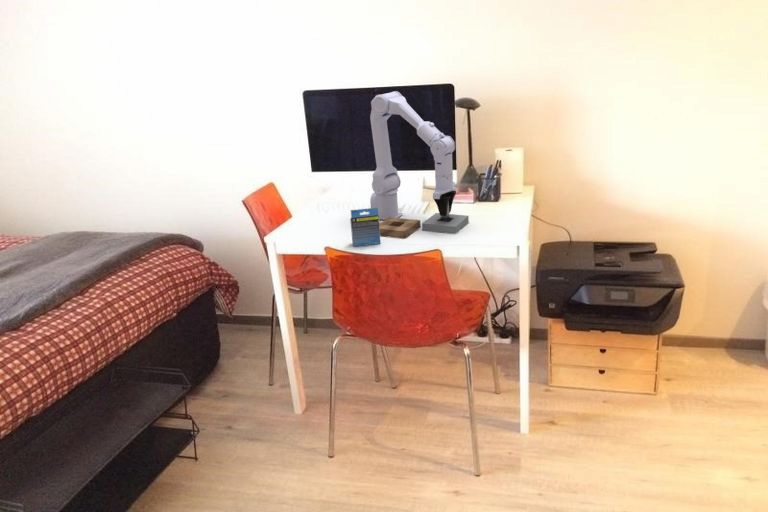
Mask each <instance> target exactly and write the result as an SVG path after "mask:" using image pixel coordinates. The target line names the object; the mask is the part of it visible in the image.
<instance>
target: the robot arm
mask: <svg viewBox="0 0 768 512" xmlns="http://www.w3.org/2000/svg"><path fill="white" fill-rule="evenodd" d="M370 106H371V111H370V114H369V115H370V116H369V118H370V125H371V127H370V128H371V135H372V141H373V142H372V143H373V149H374V155H375V163H376V164H375V165H376V169H375V170H374V171H373V173H372V181H371V188H372V191H373V193H372V194H371V196H370V199H369V201H370V202H369V203H370V208H378V215H379V221H381V220H382V221H384V220H385V219H387V218H389V217H392V218H401V216H403V214H404V213H403V212H399V205H398V204H399V203H398V192H399V188H400V186H401V182H402V181H401V178H400V176H399V174H398V169H397V168H396V167H395V166H394V165H393V161H392V160H393V159H392V153H391V146H390V144H391V143H390V135H389V130H388V122H387V121H388V119H389V118H390V117H391V116H392V115H399V116H401V118H403V119H404V120H406V121H407V123H409V124H410V125H411V126H412V127H413V128H415V129H416V135H417V136H418V137H420V139H422V141H423V142H425V144H426V145H427V146H428V147H430V152H431V154H432V157H433V161H434V169H435V170H434V175H435V178H434V179H435V181H434V182H435V188H434V190H433V193H432V199H433V200H434V202H435V203H436V206H437V209H438V213H440V216H446V215H447V207H448V202H449V214H451V212H452V207H453V203H454V199H455V197H456V195H457V187H456V182H455V181H454V178H453V177H454V176H453V152H454V151H455V150H456V142H455V141H454V139H453V138H452V136H450V135H445V134H444V133H443V132H441V130H439V129H438V128H437V127H436V126H435V123H434V122H433V121H432V122H431V121H430V120H429V121H424V119H422V118H421V116H420V115H419V114H418V113H417V112H416V111H415V110H414V109H413V107H411V105H410V104H409V103H408V102H407V99H406V97H405V96H403V95H402V94H401V93H400V92H399V91H396V90H394V91H391V92H388V93H387V92H386V93H383V94H376V95H375V97H373V99H372V100H371V101H370Z"/></svg>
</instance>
